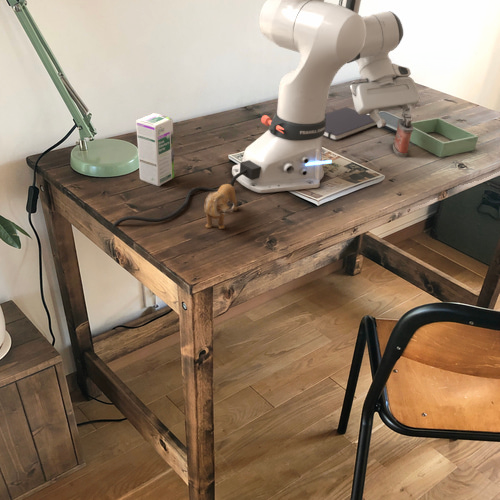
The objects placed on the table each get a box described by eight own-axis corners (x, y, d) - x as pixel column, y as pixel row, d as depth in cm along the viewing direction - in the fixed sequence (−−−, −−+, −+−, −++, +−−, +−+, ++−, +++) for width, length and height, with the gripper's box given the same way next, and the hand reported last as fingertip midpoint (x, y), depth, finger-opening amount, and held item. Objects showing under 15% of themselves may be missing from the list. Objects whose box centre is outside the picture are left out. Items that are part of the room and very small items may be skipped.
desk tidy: (440, 157, 152) (443, 143, 150) (401, 136, 163) (404, 123, 161) (474, 150, 158) (478, 136, 156) (435, 130, 169) (438, 117, 167)
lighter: (409, 157, 151) (417, 120, 146) (396, 156, 151) (404, 120, 146) (402, 145, 158) (410, 110, 152) (390, 144, 158) (397, 109, 152)
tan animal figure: (226, 240, 112) (228, 199, 107) (199, 236, 112) (200, 195, 107) (239, 204, 124) (241, 166, 119) (215, 201, 125) (216, 163, 120)
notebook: (345, 111, 178) (300, 127, 165) (346, 106, 177) (301, 121, 164) (379, 124, 171) (335, 140, 158) (380, 119, 170) (336, 135, 157)
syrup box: (158, 187, 129) (156, 125, 121) (138, 179, 131) (135, 118, 123) (174, 178, 133) (173, 118, 125) (154, 171, 135) (152, 111, 127)
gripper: (354, 74, 148) (372, 124, 146) (414, 67, 157) (431, 114, 155) (341, 86, 153) (358, 134, 152) (399, 79, 162) (416, 124, 161)
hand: (395, 124), depth 154 cm, fingers open, 8 cm apart
